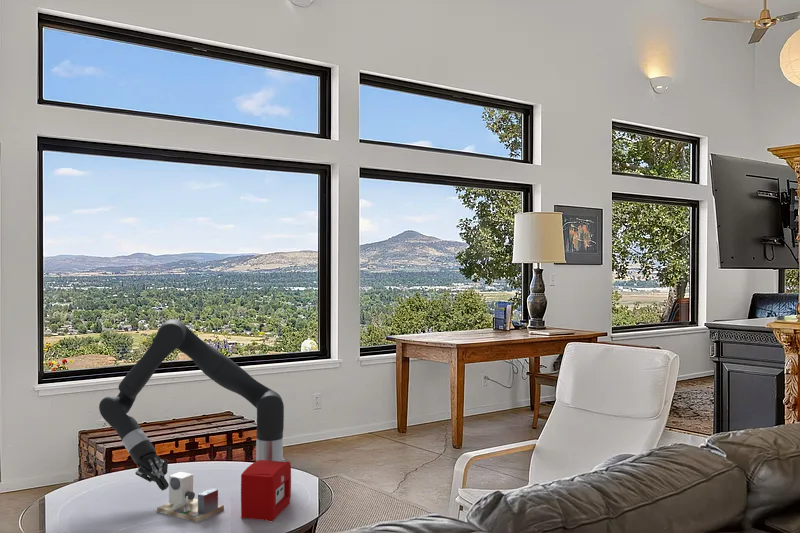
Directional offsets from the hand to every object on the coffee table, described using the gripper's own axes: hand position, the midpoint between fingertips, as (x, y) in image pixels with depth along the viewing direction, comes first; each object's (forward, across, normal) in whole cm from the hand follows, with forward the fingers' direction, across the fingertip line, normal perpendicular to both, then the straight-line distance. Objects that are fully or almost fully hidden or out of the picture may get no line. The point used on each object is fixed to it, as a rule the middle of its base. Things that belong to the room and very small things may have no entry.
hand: (165, 488), depth 244 cm
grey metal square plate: (+15, 0, -10) cm, 18 cm away
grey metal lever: (+12, -4, -7) cm, 15 cm away
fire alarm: (+26, +12, -18) cm, 34 cm away
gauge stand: (+11, 0, -4) cm, 12 cm away
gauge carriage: (+8, -1, -3) cm, 9 cm away
